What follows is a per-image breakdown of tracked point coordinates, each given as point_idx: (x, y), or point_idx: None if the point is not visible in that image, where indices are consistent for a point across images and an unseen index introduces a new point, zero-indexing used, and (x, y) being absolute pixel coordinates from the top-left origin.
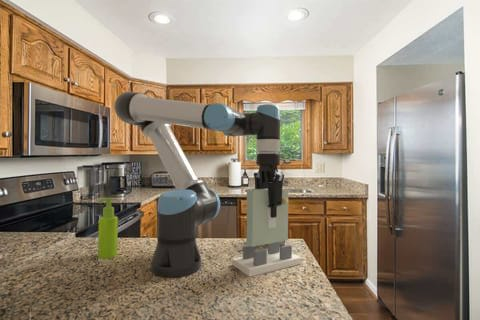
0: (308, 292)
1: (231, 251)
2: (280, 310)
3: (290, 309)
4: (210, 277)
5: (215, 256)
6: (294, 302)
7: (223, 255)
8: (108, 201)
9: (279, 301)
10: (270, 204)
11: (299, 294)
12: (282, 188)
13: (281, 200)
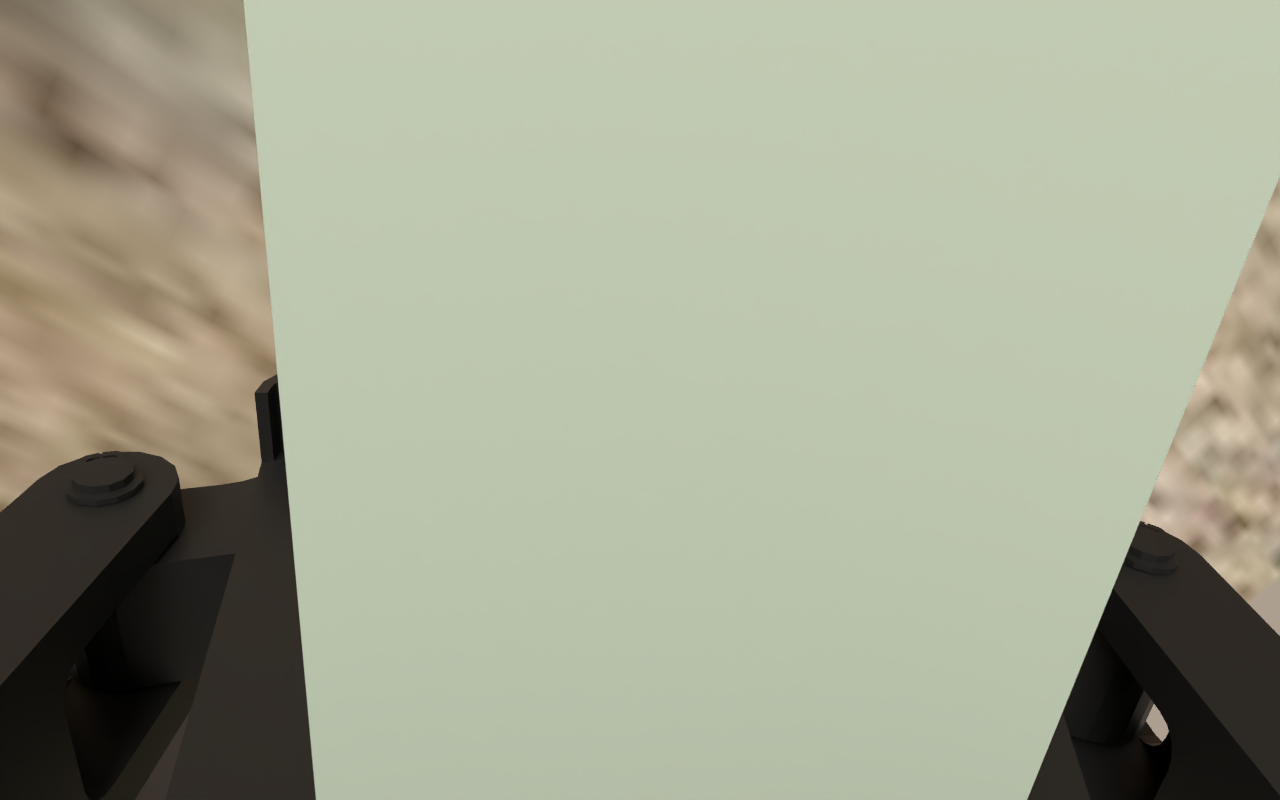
0: (1266, 271)
1: (53, 235)
2: (1219, 574)
3: (1263, 526)
4: None
5: (153, 453)
6: (1245, 454)
7: (155, 377)
8: None
9: (1158, 518)
10: None
11: (1222, 350)
12: (920, 135)
13: (1270, 642)
